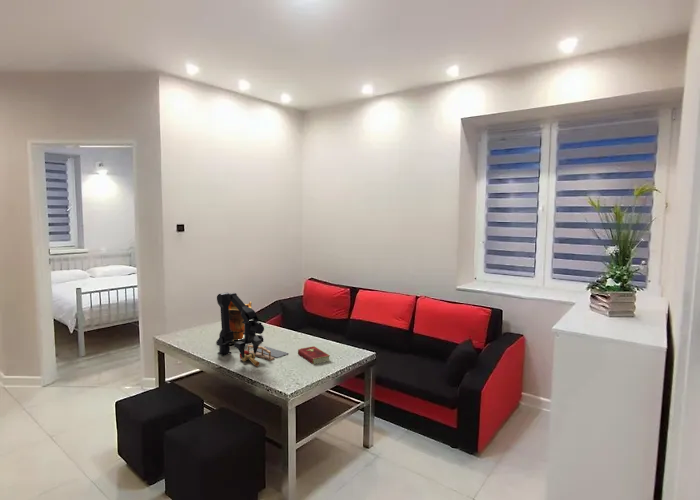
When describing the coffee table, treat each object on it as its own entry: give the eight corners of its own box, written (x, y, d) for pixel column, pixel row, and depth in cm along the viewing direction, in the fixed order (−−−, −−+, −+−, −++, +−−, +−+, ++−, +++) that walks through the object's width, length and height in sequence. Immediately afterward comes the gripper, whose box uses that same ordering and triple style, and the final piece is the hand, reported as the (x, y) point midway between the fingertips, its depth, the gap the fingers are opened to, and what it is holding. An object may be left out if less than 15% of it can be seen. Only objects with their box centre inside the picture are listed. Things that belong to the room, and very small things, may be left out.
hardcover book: (313, 365, 247) (313, 358, 247) (297, 354, 265) (297, 348, 264) (330, 361, 254) (330, 355, 253) (314, 351, 271) (314, 345, 271)
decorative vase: (250, 342, 285) (247, 303, 283) (217, 343, 286) (215, 304, 283) (257, 333, 306) (255, 297, 304) (227, 334, 306) (224, 298, 304)
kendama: (263, 366, 246) (248, 354, 259) (263, 357, 245) (247, 346, 257) (252, 371, 241) (237, 359, 254) (251, 362, 239) (236, 350, 252)
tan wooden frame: (247, 353, 264) (247, 345, 263) (252, 351, 267) (252, 343, 267) (269, 360, 252) (269, 352, 251) (274, 358, 255) (274, 350, 255)
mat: (253, 350, 269) (253, 350, 269) (265, 347, 277) (265, 346, 277) (277, 358, 256) (277, 357, 256) (288, 353, 265) (288, 353, 265)
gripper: (245, 337, 236) (246, 363, 237) (269, 329, 251) (269, 354, 252) (233, 333, 242) (233, 358, 243) (257, 326, 257) (257, 350, 259)
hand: (249, 355), depth 249 cm, fingers open, 9 cm apart
